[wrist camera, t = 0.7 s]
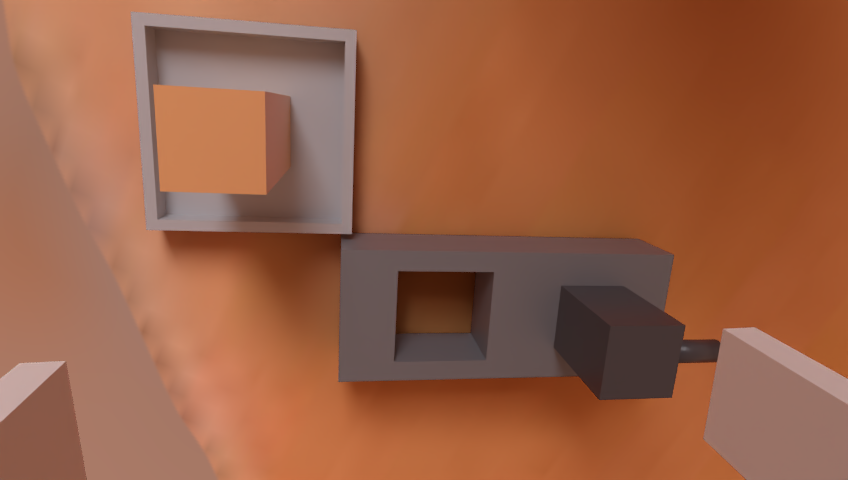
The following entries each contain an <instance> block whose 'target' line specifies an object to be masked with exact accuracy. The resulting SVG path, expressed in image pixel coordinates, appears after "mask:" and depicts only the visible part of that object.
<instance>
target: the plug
mask: <svg viewBox="0 0 848 480" xmlns="http://www.w3.org/2000/svg"><path fill="white" fill-rule="evenodd" d="M153 90H154V106H155V121H156V136H157V152H158V167H159V183H160V191H162V192H193V193H225V194H257V195H267V194H268V192H269V191H270V190H271V189H272V188H273V187H274V186H275V184H276V183H277V182H278V181H279V180H280V179H281V178H282V176H283V175H284V174H285V173H286V172H287V171H288V170H289V168H290V167H291V132H290V96H286V95H281V94H276V93H271V92H266V91H251V90H235V89H219V88H203V87H186V86H170V85H154V84H153Z"/></svg>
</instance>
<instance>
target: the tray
mask: <svg viewBox="0 0 848 480" xmlns="http://www.w3.org/2000/svg"><path fill="white" fill-rule="evenodd" d="M131 23H132V37H133V50H134V64H135V78H136V92H137V106H138V120H139V133H140V147H141V161H142V175H143V189H144V203H145V216H146V230H170V231H219V232H267V233H316V234H352V203H353V161H354V120H355V79H356V38H357V30H350V29H338V28H326V27H314V26H301V25H289V24H277V23H264V22H252V21H240V20H228V19H215V18H203V17H191V16H179V15H166V14H154V13H142V12H131ZM153 84H154V85H170V86H186V87H203V88H219V89H235V90H251V91H266V92H271V93H276V94H281V95H286V96H290V132H291V167H290V168H289V170H288V171H287V172H286V173H285V174H284V175H283V176H282V178H281V179H280V180H279V181H278V182H277V183H276V184H275V186H274V187H273V188H272V189H271V190H270V191H269V192H268V194H267V195H257V194H225V193H193V192H162V191H160V183H159V167H158V152H157V136H156V121H155V106H154V90H153Z"/></svg>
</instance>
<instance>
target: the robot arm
mask: <svg viewBox="0 0 848 480" xmlns="http://www.w3.org/2000/svg"><path fill="white" fill-rule="evenodd" d="M703 439H704V440H705V441H706V442H707V443H708V444H709V445H710V446H711V447H712V448H713V449H715V450H716V451H717V452H718V453H719V454H720V455H721V456H722V457H723V458H724V459H725V460H726V461H727V462H728V463H729V464H730V465H731V466H732V467H734V468H735V469H736V470H737V471H738V472H739V473H740V474H741V475H742V476H743V477H744V478H745V479H746V480H848V379H847V378H845V377H843V376H842V375H840V374H838V373H836V372H834V371H833V370H831V369H829V368H827V367H825V366H824V365H822V364H820V363H818V362H816V361H815V360H813V359H811V358H809V357H807V356H806V355H804V354H802V353H800V352H798V351H797V350H795V349H793V348H791V347H789V346H788V345H786V344H784V343H782V342H780V341H779V340H777V339H775V338H773V337H771V336H770V335H768V334H766V333H764V332H762V331H761V330H759V329H757V328H755V327H749V328H728V329H723V332H722V337H721V343H720V348H719V354H718V360H717V365H716V371H715V376H714V382H713V388H712V393H711V399H710V404H709V410H708V416H707V421H706V427H705V432H704V438H703ZM0 480H87V478H86V473H85V467H84V461H83V456H82V450H81V444H80V439H79V433H78V427H77V421H76V416H75V410H74V404H73V398H72V393H71V387H70V382H69V376H68V370H67V364H66V361H59V362H58V361H57V362H38V363H37V362H36V363H19V364H18V365H17V366H16V367H14V368H13V369H12V370H11V371H9V372H8V373H7V374H6V375H5V376H3V377H2V378H1V379H0Z"/></svg>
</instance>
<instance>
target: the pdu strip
mask: <svg viewBox="0 0 848 480" xmlns="http://www.w3.org/2000/svg"><path fill="white" fill-rule="evenodd" d="M673 259H674V255H673V254H671V253H669V252H666V251H664V250H662V249H660V248H658V247H655V246H653V245H651V244H649V243H646V242H644V241H642V240H640V239H616V238H569V237H521V236H473V235H425V234H377V233H352V234H341V277H340V328H339V382H350V381H393V380H436V379H479V378H522V377H564V376H579V377H580V378H581V379H582V381H583V382H584V383H585V384H586V385H587V386H588V387H589V389H590V390H591V391H592V392H593V393H594V394H595V396H596V397H597V398H598V399H599V400H613V399H645V398H672V394H673V389H674V383H675V378H676V373H677V367H678V363H705V362H717V360H718V354H719V348H720V342H719V341H718V340H715V339H712V340H683V336H684V331H685V325H684V324H682V323H681V322H679V321H678V320H676V319H674V318H673V317H671V316H670V315H668V314H667V313H665V312H664V309H665V304H666V298H667V292H668V287H669V281H670V275H671V270H672V264H673ZM398 271H434V272H476V276H475V288H474V300H473V312H472V324H471V333H410V334H395V329H396V308H397V286H398Z"/></svg>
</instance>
